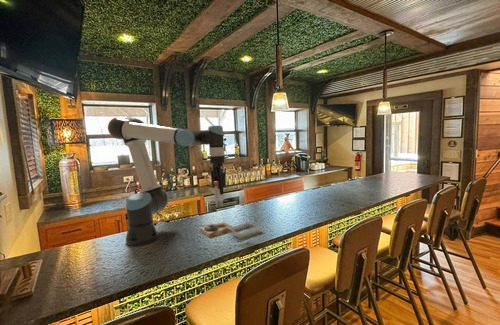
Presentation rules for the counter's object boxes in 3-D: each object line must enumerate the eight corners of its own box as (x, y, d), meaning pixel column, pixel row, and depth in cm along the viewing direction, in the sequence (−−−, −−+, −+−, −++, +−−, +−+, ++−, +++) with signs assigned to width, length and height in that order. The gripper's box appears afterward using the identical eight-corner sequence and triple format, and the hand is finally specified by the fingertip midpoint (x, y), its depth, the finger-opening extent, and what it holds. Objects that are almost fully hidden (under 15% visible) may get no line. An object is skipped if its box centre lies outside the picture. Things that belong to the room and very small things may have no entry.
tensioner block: (208, 239, 124) (208, 229, 124) (200, 233, 132) (199, 224, 132) (232, 232, 132) (232, 222, 132) (223, 227, 140) (222, 218, 140)
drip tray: (239, 240, 120) (239, 234, 120) (227, 234, 129) (227, 228, 129) (261, 233, 128) (260, 227, 128) (248, 228, 137) (248, 222, 137)
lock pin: (217, 208, 129) (216, 182, 128) (213, 206, 133) (211, 181, 132) (226, 206, 132) (224, 181, 131) (221, 204, 136) (220, 180, 135)
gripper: (231, 155, 126) (233, 201, 128) (215, 154, 139) (217, 196, 141) (218, 156, 121) (220, 203, 124) (203, 155, 135) (205, 198, 137)
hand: (219, 199), depth 132 cm, fingers closed on lock pin, 4 cm apart
